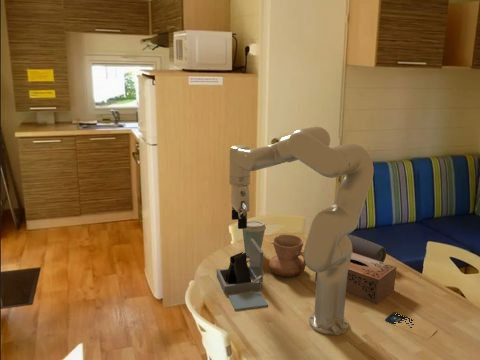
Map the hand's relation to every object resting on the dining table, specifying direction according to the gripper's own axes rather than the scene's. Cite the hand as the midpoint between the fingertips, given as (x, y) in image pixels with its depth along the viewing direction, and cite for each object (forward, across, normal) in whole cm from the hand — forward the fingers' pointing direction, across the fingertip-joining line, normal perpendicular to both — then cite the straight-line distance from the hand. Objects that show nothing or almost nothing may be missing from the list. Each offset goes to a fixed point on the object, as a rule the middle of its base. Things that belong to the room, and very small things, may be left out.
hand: (239, 223), depth 169 cm
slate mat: (+24, -14, 0) cm, 28 cm away
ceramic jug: (+24, +4, -22) cm, 33 cm away
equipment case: (+24, 0, 0) cm, 24 cm away
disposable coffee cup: (+24, +24, -13) cm, 37 cm away
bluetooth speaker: (+24, +9, -55) cm, 61 cm away
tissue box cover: (+25, -12, -43) cm, 51 cm away
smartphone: (+25, -41, -48) cm, 68 cm away
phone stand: (+24, 0, 0) cm, 25 cm away
